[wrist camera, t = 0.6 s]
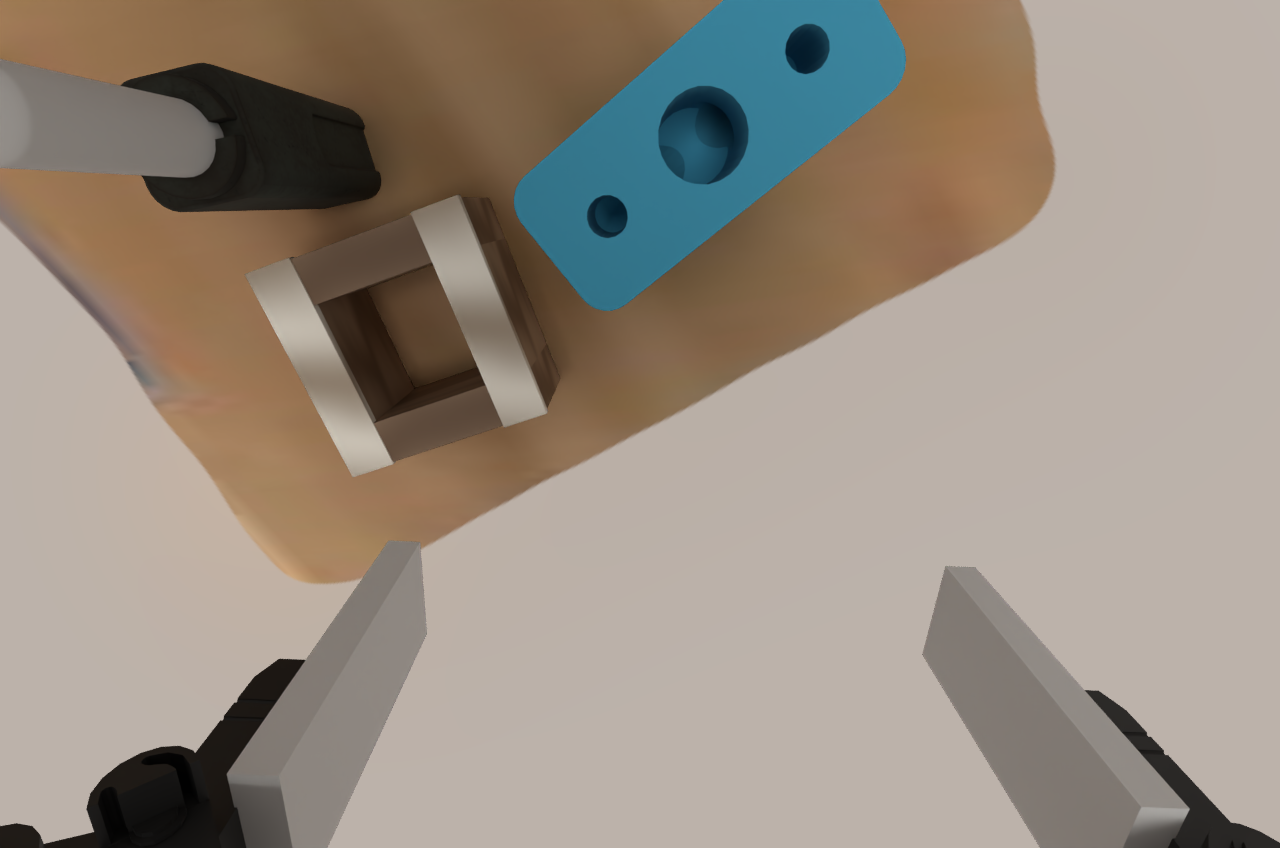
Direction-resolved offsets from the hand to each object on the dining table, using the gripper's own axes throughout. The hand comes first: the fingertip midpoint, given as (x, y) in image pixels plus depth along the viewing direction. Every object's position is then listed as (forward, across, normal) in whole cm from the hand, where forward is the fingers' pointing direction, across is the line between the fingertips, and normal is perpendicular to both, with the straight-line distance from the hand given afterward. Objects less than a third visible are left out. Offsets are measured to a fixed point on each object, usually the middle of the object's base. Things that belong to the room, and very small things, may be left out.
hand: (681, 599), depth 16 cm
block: (+28, 0, +11) cm, 30 cm away
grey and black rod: (+28, -20, +10) cm, 36 cm away
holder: (+27, -14, +1) cm, 31 cm away
